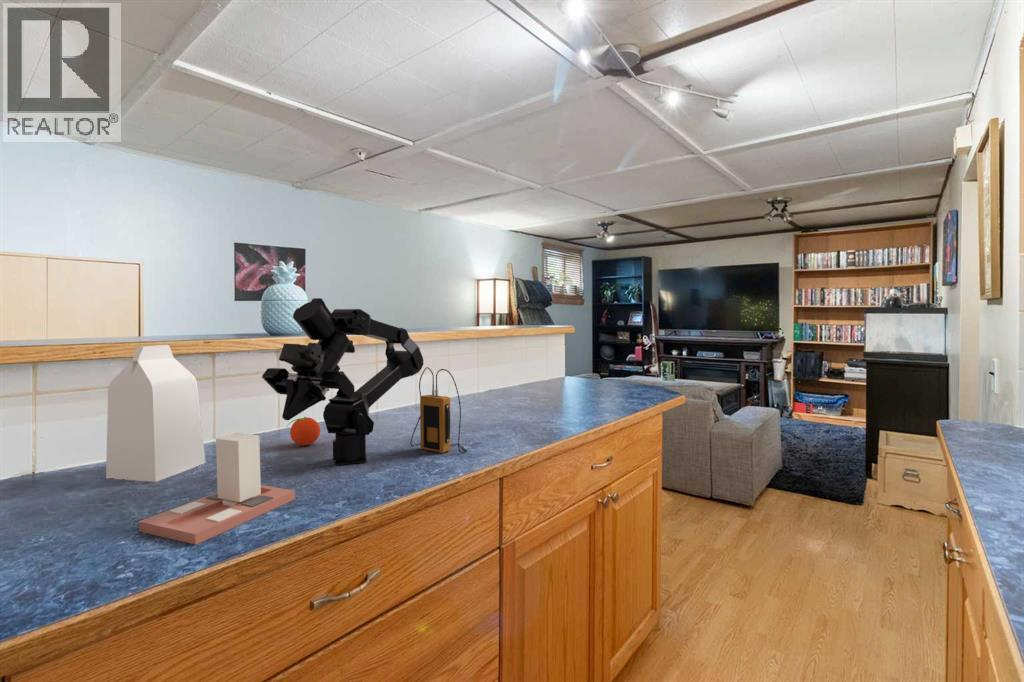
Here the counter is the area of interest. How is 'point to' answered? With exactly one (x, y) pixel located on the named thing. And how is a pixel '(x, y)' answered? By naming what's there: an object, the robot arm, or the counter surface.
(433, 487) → the counter surface
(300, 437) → the clementine
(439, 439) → the multimeter
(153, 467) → the milk
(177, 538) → the switch block
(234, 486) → the switch tab
